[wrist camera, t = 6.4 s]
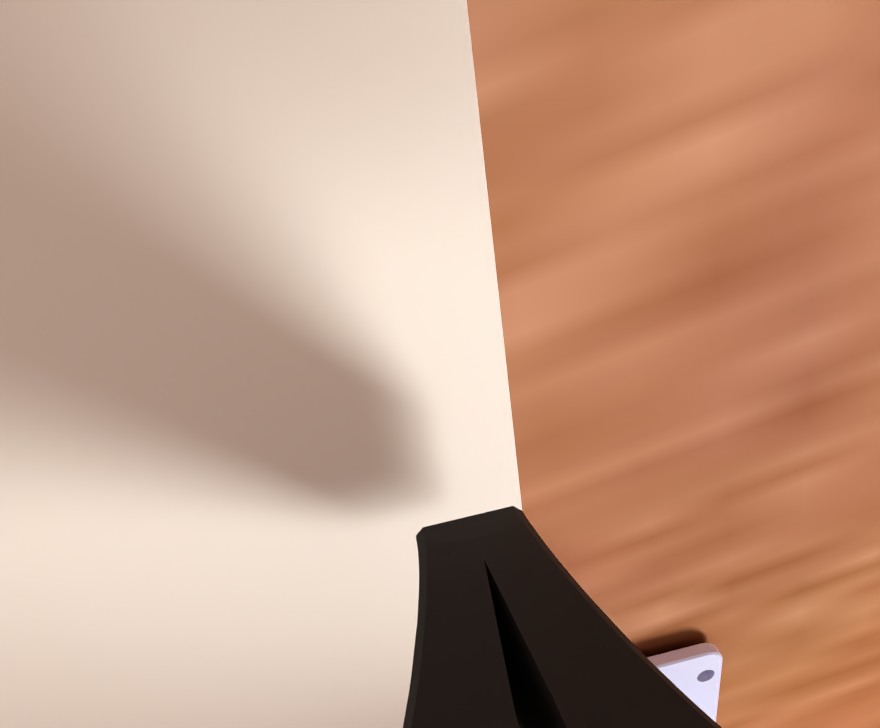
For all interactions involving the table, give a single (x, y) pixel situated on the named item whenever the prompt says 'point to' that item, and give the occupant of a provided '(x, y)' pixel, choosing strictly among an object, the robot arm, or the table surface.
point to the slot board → (237, 354)
